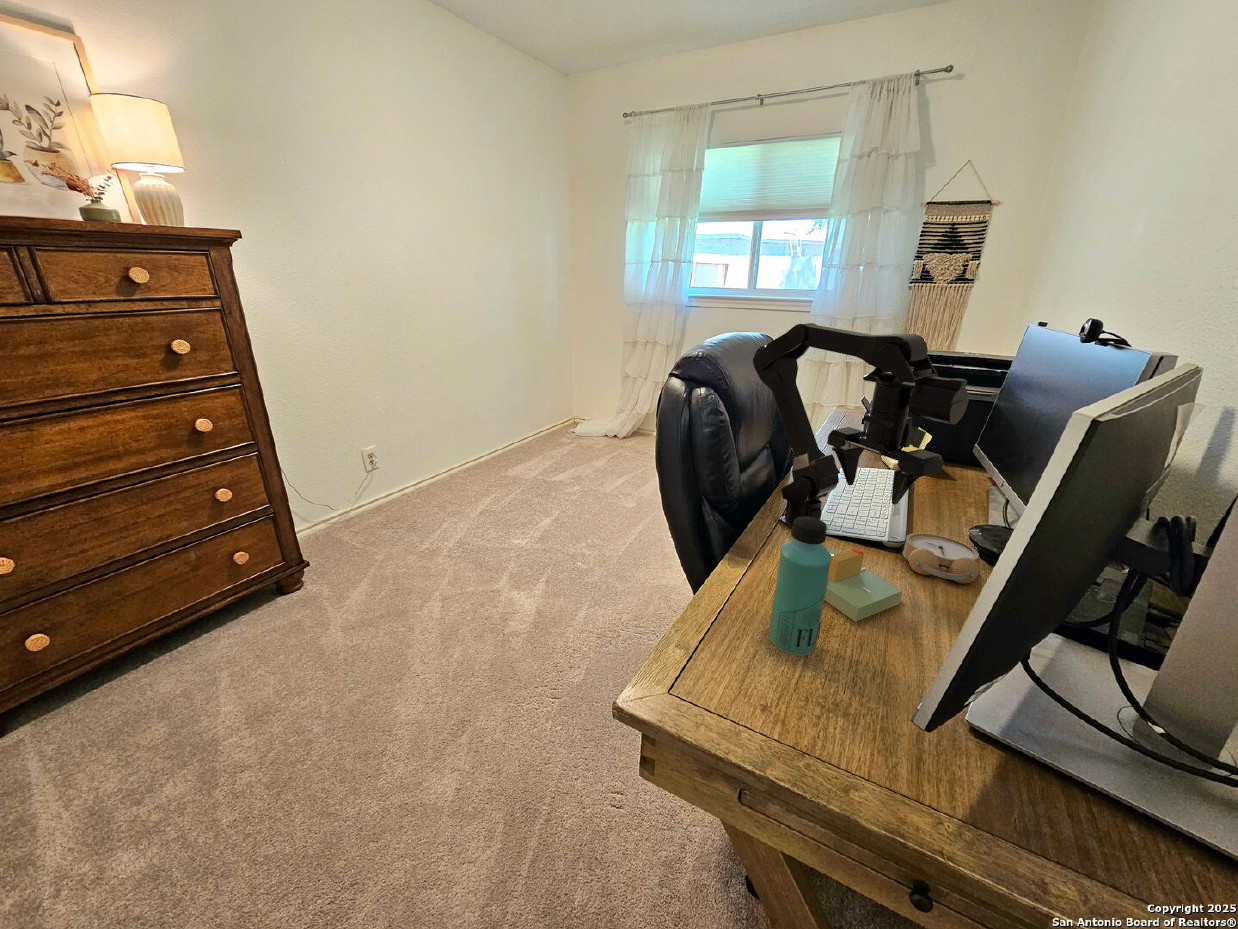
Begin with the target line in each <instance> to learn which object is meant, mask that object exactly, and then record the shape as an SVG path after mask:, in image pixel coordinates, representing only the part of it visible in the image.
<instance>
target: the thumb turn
mask: <svg viewBox="0 0 1238 929" xmlns="http://www.w3.org/2000/svg"><path fill="white" fill-rule="evenodd" d="M864 557H865V552H864V551H863V550H862V549H860V548H858V547H855V548H853V549H851V550H847V551H844V552H841V553H838V555H835V556H831V563H830V567H829V573H828V574H829V575H828V579H830V580H831V581H833V582H837V581H840V580H843V579H846V578H849V577H852V576H855V575H857V574H860V572H861V567H862V566H863V562H864ZM862 568H863V567H862Z"/></svg>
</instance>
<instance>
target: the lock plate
mask: <svg viewBox="0 0 1238 929" xmlns="http://www.w3.org/2000/svg"><path fill="white" fill-rule="evenodd" d="M827 550H828V551H829V553H831V554H834V556H835V555H838V554H839V553H838V552H837V551H835V550H833V549H827ZM827 582H828V583H827V585H828V587H827V586H826V589H827V591H826V592H827V593H825V597H824V602H827V603H828V604H829V605H831V606H832V607H833V608H835V609H836V610H838V611H839V612H840V613H842V614H844V615H845V616H846V617H847V618H849V619H850V620H852V621H853V622H855V623H857V622H859V621H861V620H864V619H865V618H868V617H871V616H874V615H876V614H878V613H881V612H883V611H885V610H888V609H890V608H893V607H895V606H898V605H900V603H901V599H902V594H903V591H902V590H901V589H899V588H898V587H896V586H894V585H892V584H891V583H889V582H888V581H886V580H884V579H883V578H881V577H879V576H878V575H875V574H874V573H872V572H871V571H870V570H867V568H866V567H861V572H860V574H857V575H855V576H852V577H849V578H846V579H843V580H840V581H837V582H833V581H831V580H830V579H828V580H827Z"/></svg>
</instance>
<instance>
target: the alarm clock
mask: <svg viewBox="0 0 1238 929" xmlns="http://www.w3.org/2000/svg"><path fill="white" fill-rule="evenodd" d="M902 556H903V557H904V559H906V560H907V561H908V564H909V567H910V568H911V569H912V570H913V572H915V573H917V574H918V575H921V576H930V575H933V576H935V577H939V578H942V579H946V580H951V581H954V582H956V583H957V584H962V585H963V584H965V585H966V584H969V583H972V582H974V581H976V579H977V578H978V576H979V574H980V568H979V565H978V560H979V558H980V553H979V552H978V551H977V550H976V549H975V548H974V547H973V546H971V545H970V544H967V543H965V542H963V541H961V540H959V539H955V538H953V537H949V536H946V535H941V534H938V533H937V534H936V533H929V532H913V533H912V532H911V533H910V534H907V535H906V537H905V542H904V547H903V550H902Z"/></svg>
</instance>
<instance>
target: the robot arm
mask: <svg viewBox="0 0 1238 929" xmlns="http://www.w3.org/2000/svg"><path fill="white" fill-rule="evenodd" d="M810 348H814V349H819V350H823V351H827V352H832V353H837V354H841V355H845V356H850V357H855V358H858V359H860V360H862V361H863V362H865V363H866V364H867V365H868V366H871V367H874V369H873V370H872V371H870V372H869V373H868V374H866V375H864V376H863V377H862V379H863V381H865V382H869V383H870V382H871V383H874V389H873V394H872V398H871V399H872V400H871V405H870V409H869V413H867V414H863V420H862V421H863V422H867V423H866V430H865V431H864V430H862V429H858V428H856V427H855V428H854V427H852V426H847V427H840V428H833V429H832V430H831V431H830V433H828V435H827V441H826V444H827V445H828V446H832V447H831V450H832V451H833V452H834V453H835V455H836V458H837V459H838V462H839V464H840V467H841V469H842V472H843V475H844V479H845V480H846V481H845V482H846V484H847V485H848V486H853V485H854V483H855V480H856V476H857V471H858V467H859V461H860V457H861V455H862V454H863V452H864V451H868V452H871V453H874V454H877V455H880V456H882V457H886V458H888V459H891V460H894V461H897V464H896V465H897V467H898V469H896V470H894V471H893V480H892V489H891V490H892V491H891V505H895V506H896V505H898V504H899V502H900V501H901V500H902V498H903V497H904V496H905V494H906V493H907V491H909V489H910V488H911V486H912V485H913V484H914V483H915V482H916V481H917V480H918V479H919V478H922V477H926V476H930V475H933V474H937V473H941V472H942V470H943V467H944V459H943V458H942V455H941V454H939V453H936V452H933V451H928V450H925V449H923V448H921V445H922V442H923V441H924V438H925V436H926V434H927V431H925V430H923V429H920V428H917V427H914V426H912V424H913V420H912V419H913V417H911V416H909V413H912V415H913V416H914V417H917V418H922V419H925V420H931V421H936V422H940V423H945V424H950V425H956V424H958V423H959V422H960V421H961V419H962V418H963V417H964V415H965V412H966V410H967V408H968V405H969V398H968V394H969V393H968V389H967V388H966V387H967V383H968V380H967V379H965V378H948V377H943V376H942V377H941V376H939V374H938V372H937V369H936V368H935V367H934V364H933V362H932V360H931V359H930V356H929V354H928V351H929V349H928V344H927V342H926V340H925V338H924V336H921V335H919V334H917V333H890V334H888V333H886V334H885V333H884V334H869V333H864V332H860V331H859V332H858V331H853V330H846V329H841V328H835V327H830V326H825V325H824V326H823V325H818V324H816V323H814V322H808V323H796V324H795V325H793V327H791V328H790V329H788V331H786V332H784V333H783V334H782V335H780V336H778V337H777V338H774V339H773V340H772V341H770V342H769V343H767V344H766V345H763V346H759V347H758V348H757V349H756V351H755V352H754V356H753V357H752V365H753V368H754V370H755V372H756V375H757V376H758V378H759V380H760V382H762V383H763V384H764V385H765V387H767V388H768V389H769V390H770V391H771V393H772V396H773V399H774V402H775V404H776V408H777V410H778V413H779V417H780V419H781V423H782V425H783V428H784V431H785V433H786V437H787V440H788V443H789V445H790V448H791V451H792V455H793V461H792V468H791V476H792V480H793V481H791V482H790V483H788V484H786V485H785V486H783V487H782V488H781V489H780V490H781V496H782V499H783V500H785V501H786V507H785V512H784V513H785V514H784V516H781V517H779V518H778V521H779V522H781V523H782V524H784V525H786V526H788V527H789V528H791V529H792V528H793V524H794V520H795V519H796V518H798V517H803V516H808V517H814V518H817V519H820V520H821V519H822V514H823V512H822V511H823V510H822V509H821V508H822V504H823V501H822V500H820V499H821V498H825V497H827V496H828V495H829V493H830V492H832V491H834V490H835V489H836V488H837V486H838V484H840V478H839V475H840V474H841V471H840V469H838V467H837V463H836V459H835V456H834V455H833V454H832V453H831V454H828V455H826V454H825V453H824V452H823V451H822V450H821V449H820V447H819V446H818V443H817V440H816V437H815V434H814V430H813V428H812V425H811V422H810V419H809V416H808V413H807V411H806V408H805V405H804V403H803V400H802V396H801V393H800V391H799V387H798V385H797V377H798V372H799V366H798V360H799V359H800V358H802V357H803V356H804V355H805V354H806V353H807V351H808V350H809V349H810ZM912 369H913V370H912ZM910 446H912V447H913V448H916V449H914V450H910V451H909V450H908V451H907V450H904V449H907V448H910ZM901 448H904V449H901Z"/></svg>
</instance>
